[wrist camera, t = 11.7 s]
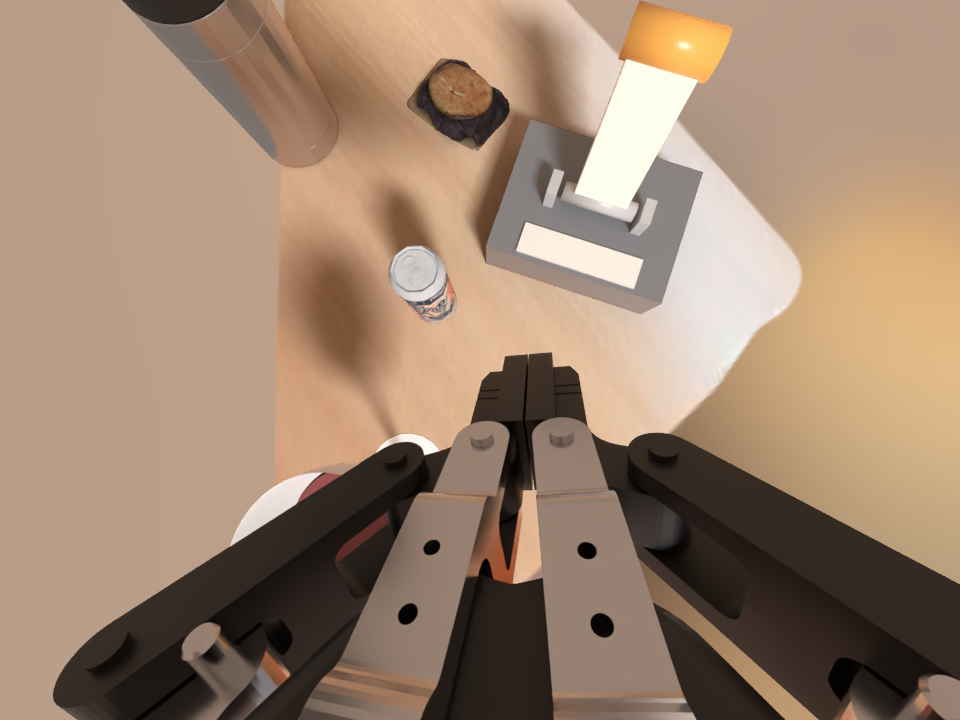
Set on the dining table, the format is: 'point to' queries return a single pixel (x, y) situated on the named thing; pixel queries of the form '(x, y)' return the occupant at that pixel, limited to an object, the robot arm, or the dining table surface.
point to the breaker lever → (645, 104)
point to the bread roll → (460, 103)
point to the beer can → (423, 283)
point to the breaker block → (589, 225)
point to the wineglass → (306, 485)
